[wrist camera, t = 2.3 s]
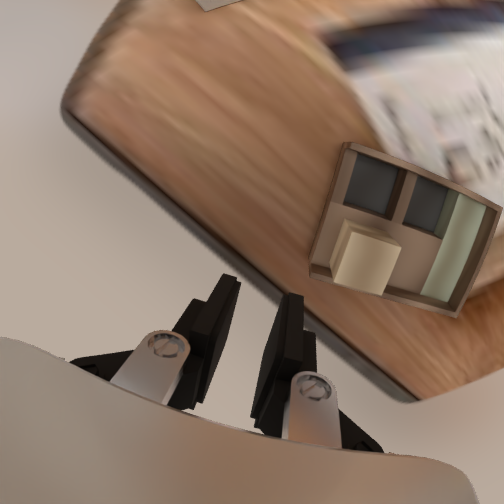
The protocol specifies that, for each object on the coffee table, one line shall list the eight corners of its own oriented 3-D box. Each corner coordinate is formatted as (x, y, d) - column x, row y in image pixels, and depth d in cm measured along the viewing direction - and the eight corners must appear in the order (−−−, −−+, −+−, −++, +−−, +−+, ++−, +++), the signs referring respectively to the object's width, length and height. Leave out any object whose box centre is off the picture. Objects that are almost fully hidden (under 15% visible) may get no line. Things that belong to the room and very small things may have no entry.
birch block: (387, 232, 24) (401, 247, 20) (371, 274, 26) (381, 295, 22) (344, 218, 24) (351, 231, 21) (329, 262, 26) (333, 282, 22)
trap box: (478, 198, 24) (502, 207, 20) (439, 296, 28) (456, 318, 24) (343, 142, 25) (351, 141, 20) (308, 257, 29) (309, 277, 24)
